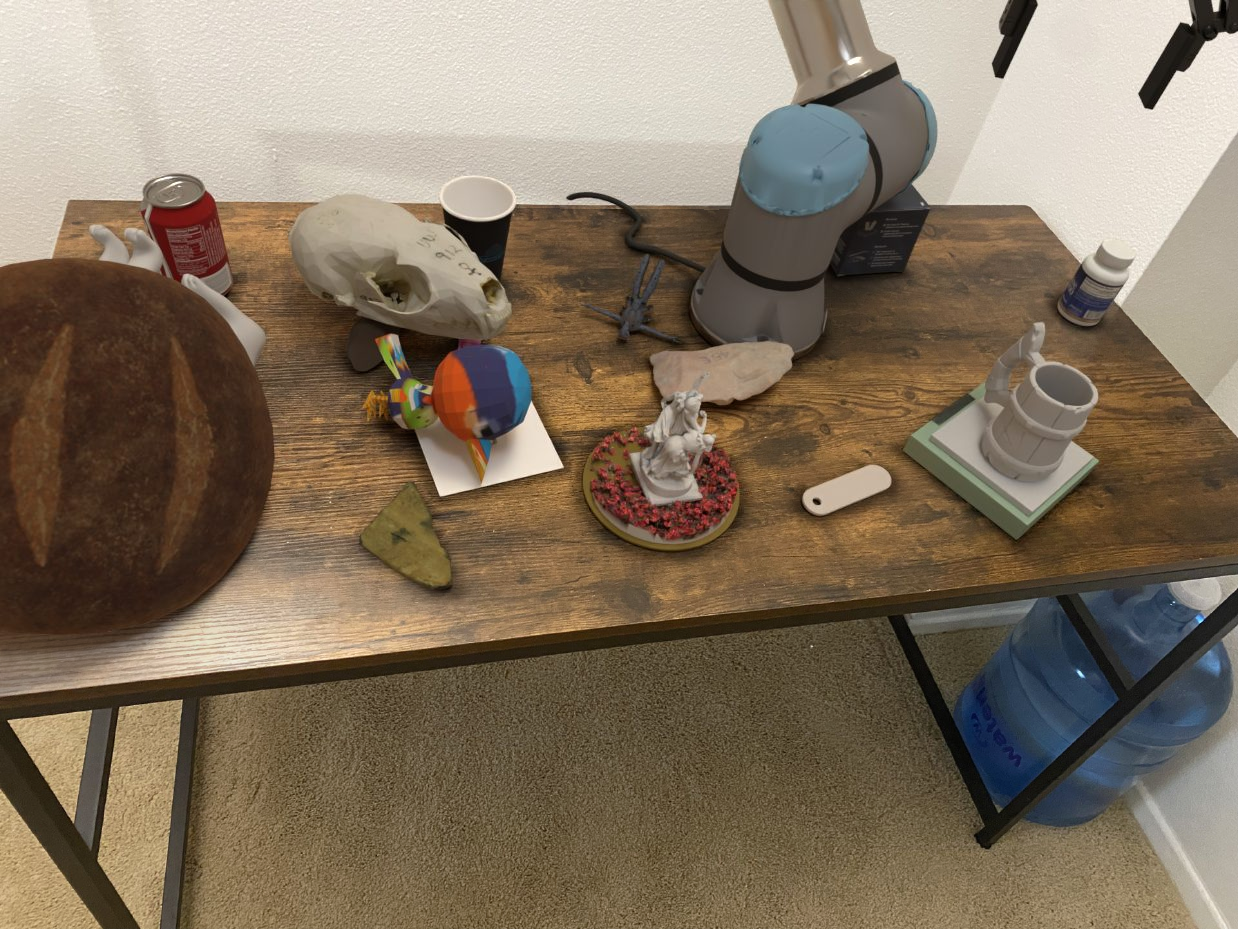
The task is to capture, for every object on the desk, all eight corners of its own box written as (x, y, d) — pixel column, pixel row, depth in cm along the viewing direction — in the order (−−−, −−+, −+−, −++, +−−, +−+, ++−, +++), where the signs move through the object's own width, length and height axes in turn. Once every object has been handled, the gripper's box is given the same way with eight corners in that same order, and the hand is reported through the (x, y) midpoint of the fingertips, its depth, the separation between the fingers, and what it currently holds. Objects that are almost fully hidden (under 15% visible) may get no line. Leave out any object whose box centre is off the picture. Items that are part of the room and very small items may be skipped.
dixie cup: (496, 312, 101) (498, 227, 92) (428, 291, 101) (425, 205, 93) (522, 271, 106) (527, 187, 97) (458, 251, 107) (457, 167, 98)
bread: (270, 295, 80) (324, 289, 74) (252, 609, 80) (304, 627, 75) (-155, 221, 59) (-127, 204, 53) (-176, 648, 59) (-151, 678, 53)
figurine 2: (707, 278, 102) (707, 272, 97) (675, 360, 103) (673, 358, 98) (607, 240, 103) (601, 232, 98) (576, 321, 104) (569, 317, 99)
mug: (1003, 490, 89) (1064, 402, 80) (944, 402, 96) (994, 313, 87) (1069, 479, 91) (1136, 393, 82) (1006, 394, 98) (1061, 306, 89)
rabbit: (118, 195, 68) (-97, 494, 60) (304, 353, 84) (155, 604, 76) (37, 190, 74) (-167, 462, 66) (226, 339, 90) (80, 570, 82)
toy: (351, 489, 82) (511, 488, 78) (346, 330, 81) (506, 322, 77) (404, 481, 91) (548, 480, 88) (399, 339, 91) (545, 332, 87)
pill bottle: (1063, 293, 117) (1103, 228, 110) (1104, 313, 115) (1147, 248, 108) (1050, 313, 114) (1090, 248, 106) (1092, 333, 112) (1135, 269, 105)
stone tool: (658, 421, 93) (803, 411, 95) (659, 382, 90) (809, 372, 92) (646, 372, 100) (781, 363, 102) (647, 334, 97) (786, 326, 99)
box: (885, 245, 119) (912, 181, 112) (904, 273, 115) (933, 208, 108) (819, 249, 116) (842, 183, 109) (837, 277, 113) (862, 211, 106)
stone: (459, 590, 78) (460, 580, 76) (382, 613, 75) (381, 602, 74) (418, 486, 84) (418, 474, 83) (346, 503, 82) (344, 492, 81)
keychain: (795, 497, 89) (812, 521, 88) (797, 493, 88) (814, 518, 87) (876, 464, 93) (894, 487, 92) (879, 461, 93) (897, 484, 91)
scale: (901, 449, 95) (912, 428, 93) (976, 395, 102) (988, 374, 100) (1016, 540, 89) (1031, 520, 87) (1087, 475, 96) (1103, 455, 94)
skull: (454, 397, 85) (455, 307, 78) (260, 292, 92) (244, 202, 85) (542, 326, 94) (549, 240, 87) (359, 236, 101) (352, 150, 94)
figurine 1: (432, 277, 96) (394, 361, 89) (429, 306, 100) (393, 389, 93) (371, 259, 96) (329, 342, 89) (371, 289, 100) (330, 371, 93)
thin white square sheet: (440, 496, 83) (439, 486, 82) (405, 405, 90) (404, 394, 89) (564, 467, 88) (565, 457, 87) (522, 382, 94) (523, 371, 93)
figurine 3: (707, 420, 94) (738, 311, 84) (762, 536, 85) (806, 432, 75) (565, 438, 90) (579, 327, 79) (607, 563, 81) (629, 456, 70)
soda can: (247, 291, 98) (225, 193, 89) (188, 318, 94) (159, 218, 85) (211, 260, 100) (187, 161, 91) (152, 284, 97) (120, 184, 88)
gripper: (1366, -172, 70) (1196, 94, 86) (1042, -239, 70) (932, 39, 86) (1407, -141, 65) (1218, 135, 81) (1058, -213, 65) (938, 77, 81)
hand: (1071, 86), depth 83 cm, fingers open, 13 cm apart
